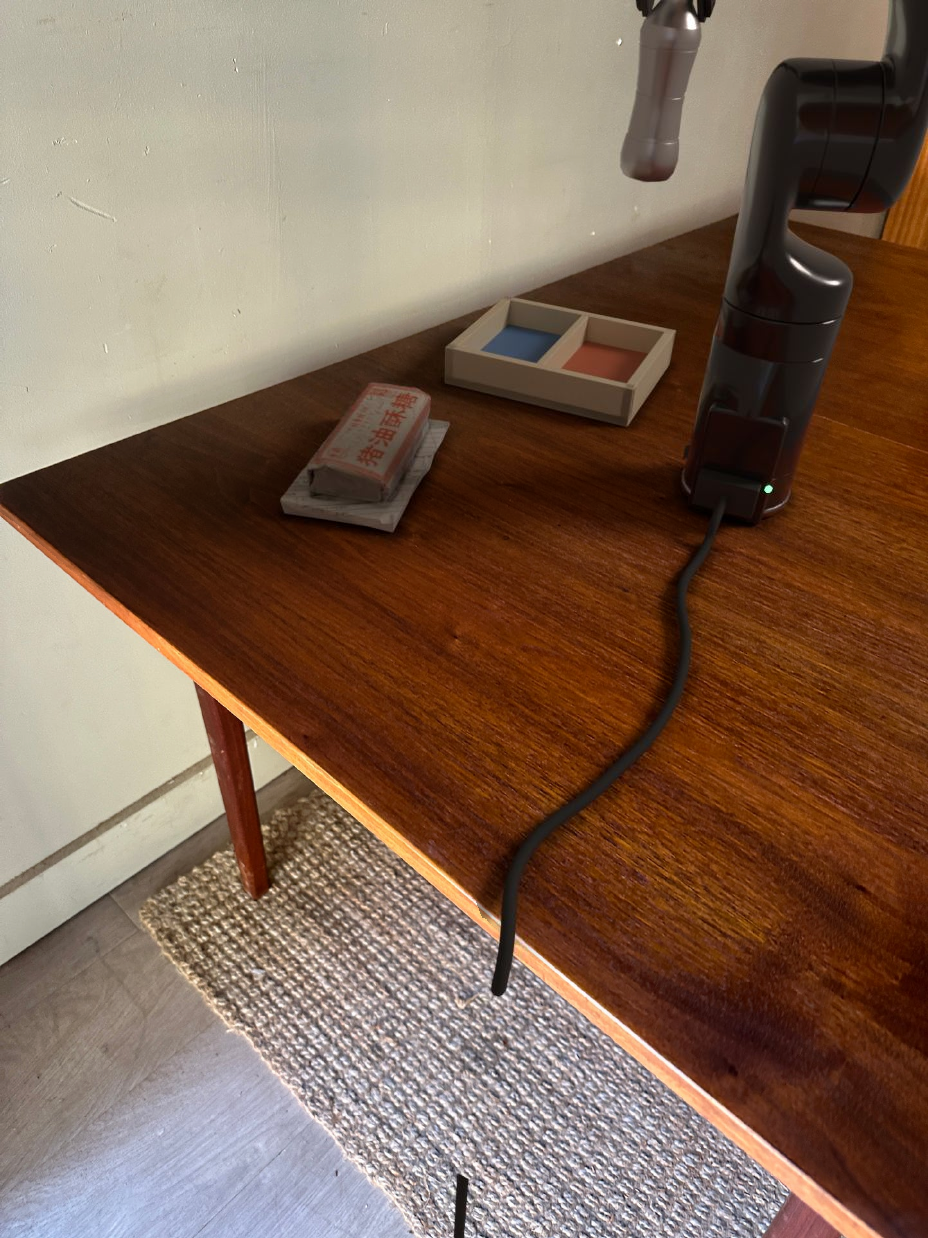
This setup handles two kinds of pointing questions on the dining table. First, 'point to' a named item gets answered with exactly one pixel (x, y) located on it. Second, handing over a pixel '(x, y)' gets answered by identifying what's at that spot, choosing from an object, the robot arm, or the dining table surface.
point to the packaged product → (370, 460)
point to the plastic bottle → (660, 90)
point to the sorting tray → (561, 359)
